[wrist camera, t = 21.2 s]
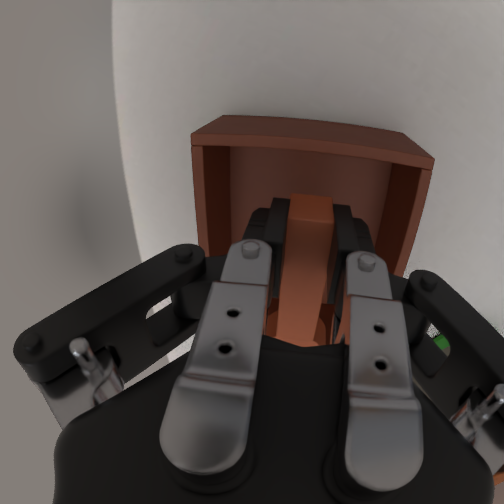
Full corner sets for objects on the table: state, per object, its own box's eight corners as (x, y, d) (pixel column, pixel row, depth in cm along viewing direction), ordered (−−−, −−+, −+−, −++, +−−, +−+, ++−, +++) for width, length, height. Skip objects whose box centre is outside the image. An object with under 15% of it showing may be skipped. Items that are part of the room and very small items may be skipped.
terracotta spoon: (269, 190, 13) (260, 214, 11) (353, 199, 12) (360, 225, 11) (261, 346, 18) (255, 377, 16) (320, 353, 18) (318, 385, 16)
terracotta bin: (222, 115, 18) (190, 133, 13) (403, 133, 16) (435, 158, 12) (228, 292, 26) (209, 343, 21) (362, 307, 24) (368, 361, 20)
